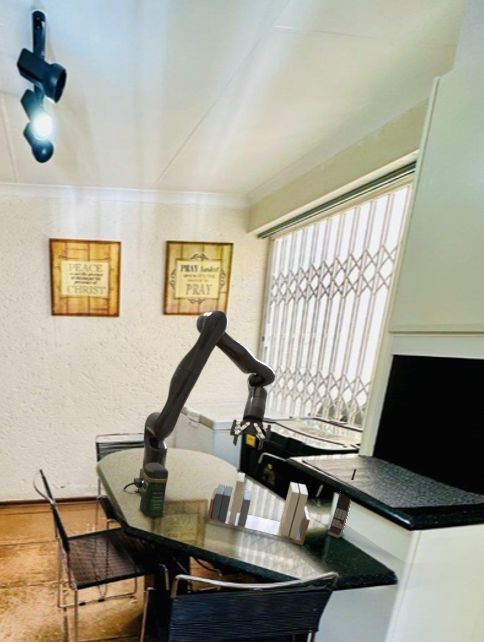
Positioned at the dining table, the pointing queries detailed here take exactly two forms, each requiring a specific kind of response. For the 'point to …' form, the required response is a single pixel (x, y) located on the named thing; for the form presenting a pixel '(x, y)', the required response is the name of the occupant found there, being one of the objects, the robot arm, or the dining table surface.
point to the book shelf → (265, 523)
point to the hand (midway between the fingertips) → (247, 446)
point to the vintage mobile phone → (340, 514)
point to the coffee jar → (153, 490)
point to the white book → (236, 498)
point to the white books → (293, 509)
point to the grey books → (223, 504)
